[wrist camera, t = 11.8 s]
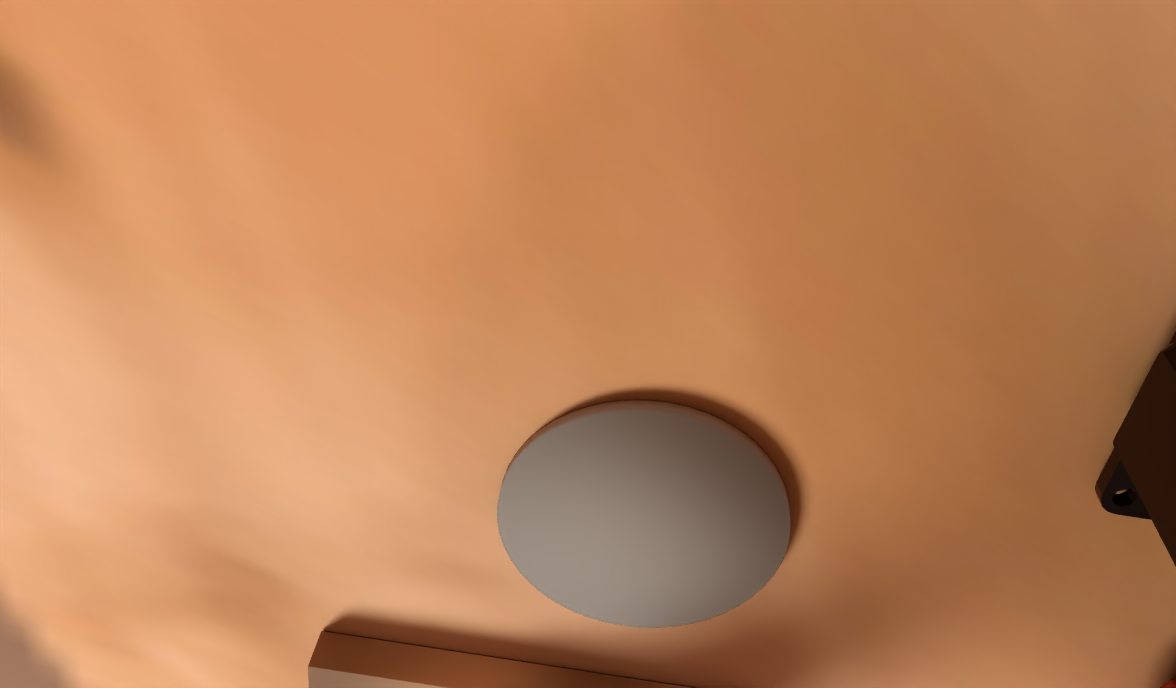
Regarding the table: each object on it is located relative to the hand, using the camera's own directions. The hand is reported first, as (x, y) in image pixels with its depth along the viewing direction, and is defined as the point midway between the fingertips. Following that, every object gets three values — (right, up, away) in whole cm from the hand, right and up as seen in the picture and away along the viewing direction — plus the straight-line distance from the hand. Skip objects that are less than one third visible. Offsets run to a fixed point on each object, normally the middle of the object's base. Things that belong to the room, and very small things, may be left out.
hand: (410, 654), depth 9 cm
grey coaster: (+3, -1, +16) cm, 17 cm away
